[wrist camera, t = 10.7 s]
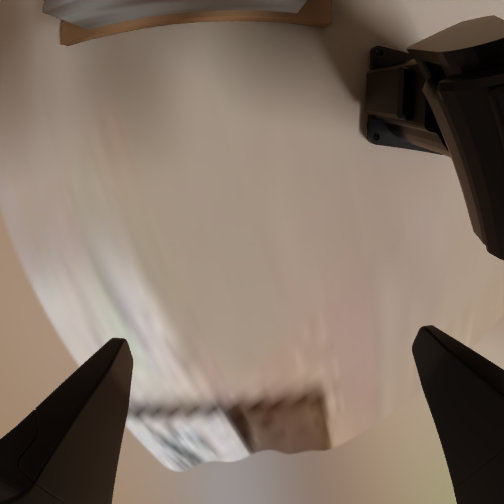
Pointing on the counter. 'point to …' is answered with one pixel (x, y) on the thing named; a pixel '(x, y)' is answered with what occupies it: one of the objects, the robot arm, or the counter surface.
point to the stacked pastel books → (175, 14)
